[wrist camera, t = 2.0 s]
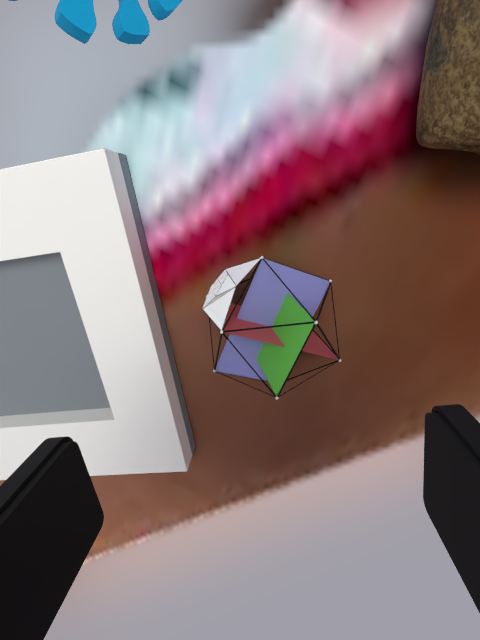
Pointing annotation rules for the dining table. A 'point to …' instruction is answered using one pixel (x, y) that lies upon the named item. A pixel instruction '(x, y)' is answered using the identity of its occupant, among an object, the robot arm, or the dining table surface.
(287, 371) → the geometric puzzle
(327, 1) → the dining table surface
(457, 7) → the stone weight
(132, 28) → the gear
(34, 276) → the square picture frame
